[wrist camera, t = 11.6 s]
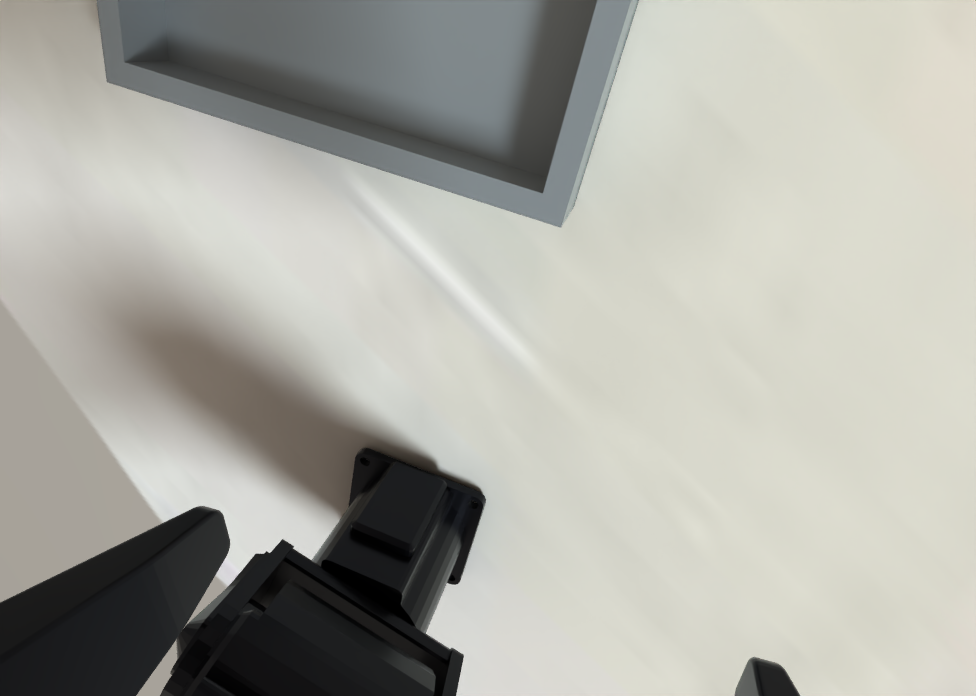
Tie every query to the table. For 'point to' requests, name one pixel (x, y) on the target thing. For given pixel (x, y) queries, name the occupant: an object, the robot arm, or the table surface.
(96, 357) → the table surface
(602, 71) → the tray
